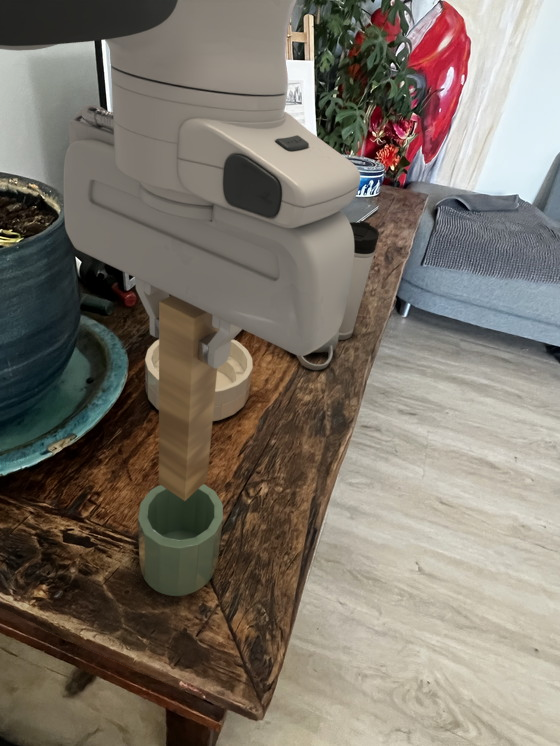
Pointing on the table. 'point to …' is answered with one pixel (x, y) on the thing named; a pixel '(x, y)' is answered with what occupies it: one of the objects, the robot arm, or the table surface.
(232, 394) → the stepped round dish
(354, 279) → the travel mug
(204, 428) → the long wooden block
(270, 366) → the table surface
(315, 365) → the ceramic mug
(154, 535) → the pot
